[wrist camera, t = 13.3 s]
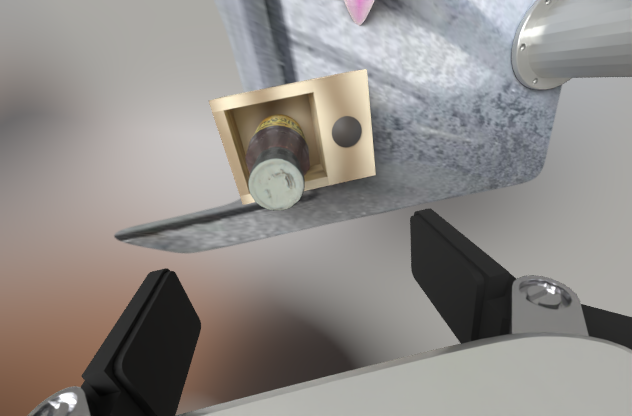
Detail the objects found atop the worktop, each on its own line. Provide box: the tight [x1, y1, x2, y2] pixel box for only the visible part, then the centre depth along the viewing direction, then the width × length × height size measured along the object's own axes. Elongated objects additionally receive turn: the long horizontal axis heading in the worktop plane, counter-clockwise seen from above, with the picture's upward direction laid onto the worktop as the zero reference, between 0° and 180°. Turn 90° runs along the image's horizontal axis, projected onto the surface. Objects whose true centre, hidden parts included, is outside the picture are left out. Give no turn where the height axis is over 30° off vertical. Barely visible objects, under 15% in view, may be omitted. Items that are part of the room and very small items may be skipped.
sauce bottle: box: [245, 114, 310, 210], centre depth 28 cm, size 6×6×20 cm
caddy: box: [209, 69, 376, 205], centre depth 35 cm, size 17×12×7 cm
